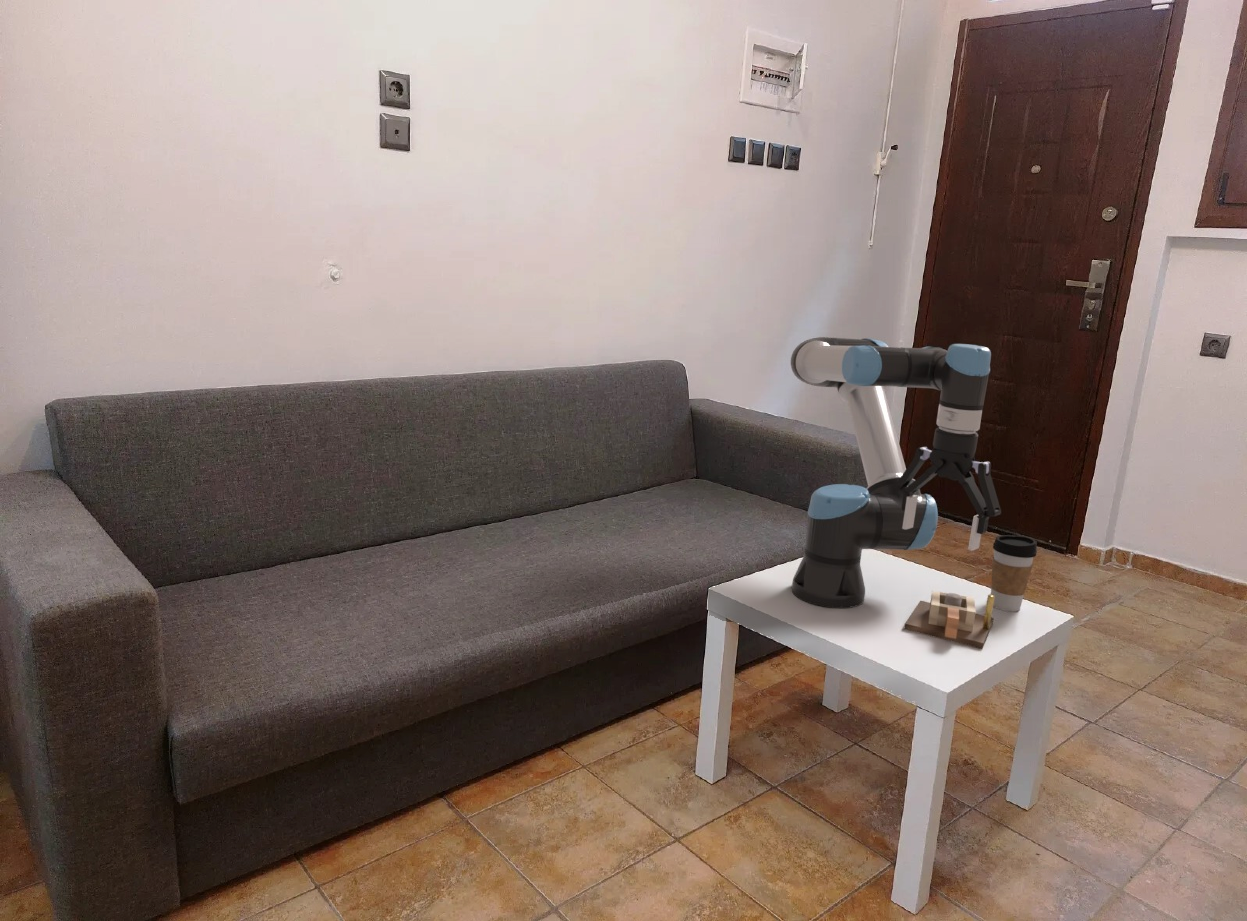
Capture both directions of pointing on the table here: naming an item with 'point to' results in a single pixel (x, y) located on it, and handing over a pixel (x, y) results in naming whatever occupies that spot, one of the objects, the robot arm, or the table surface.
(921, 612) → the base
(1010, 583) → the coffee cup
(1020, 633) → the table surface
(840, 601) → the robot arm
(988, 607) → the dowel
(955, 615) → the hollow square frame
